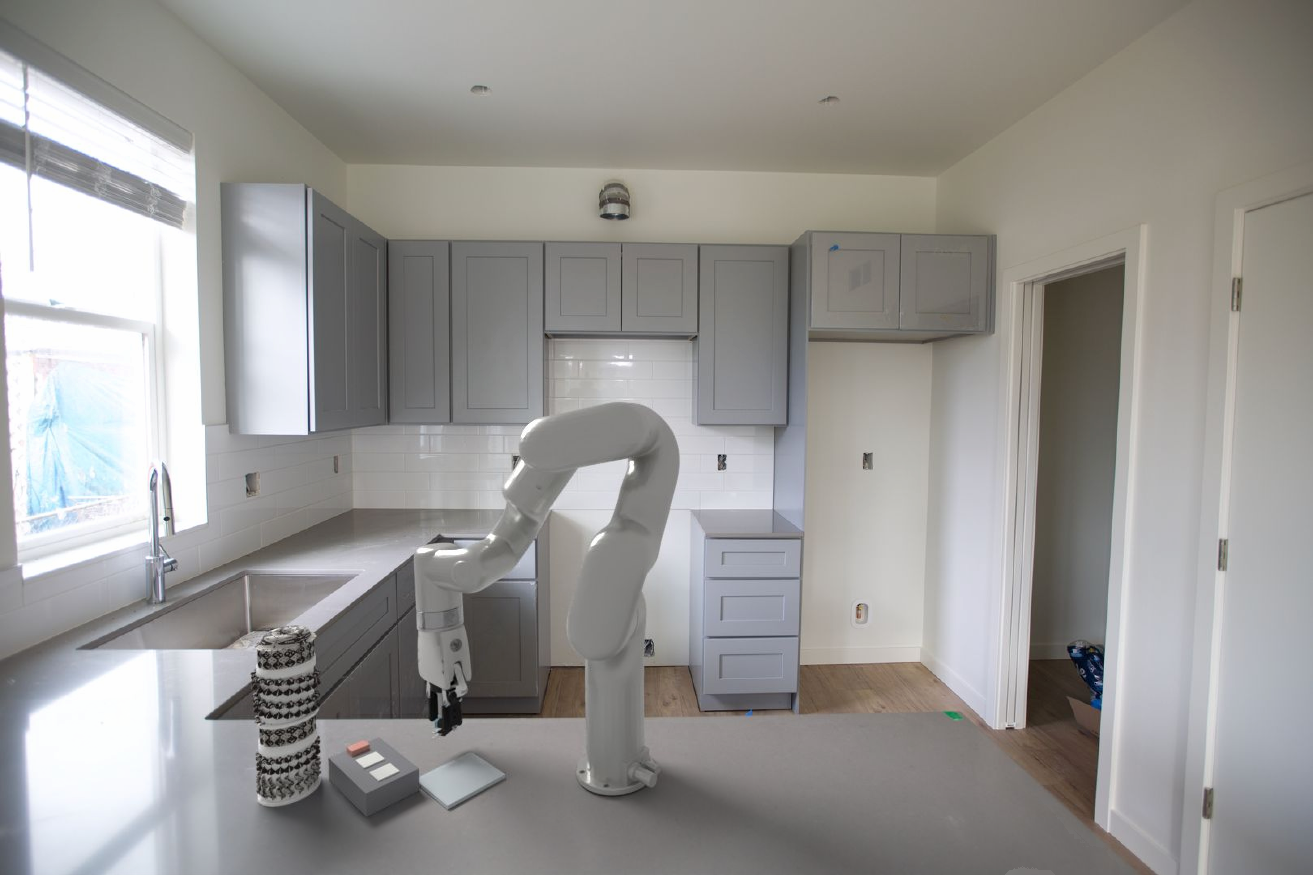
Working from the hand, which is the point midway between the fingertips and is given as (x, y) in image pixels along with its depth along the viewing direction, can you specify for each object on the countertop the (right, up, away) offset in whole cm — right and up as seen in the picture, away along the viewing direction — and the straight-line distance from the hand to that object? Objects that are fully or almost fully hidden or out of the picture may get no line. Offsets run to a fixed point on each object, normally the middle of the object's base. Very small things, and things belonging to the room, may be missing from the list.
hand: (445, 720), depth 100 cm
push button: (0, -2, 0) cm, 2 cm away
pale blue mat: (+5, -6, -7) cm, 11 cm away
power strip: (-8, -6, -8) cm, 13 cm away
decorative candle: (-21, -6, -9) cm, 24 cm away
